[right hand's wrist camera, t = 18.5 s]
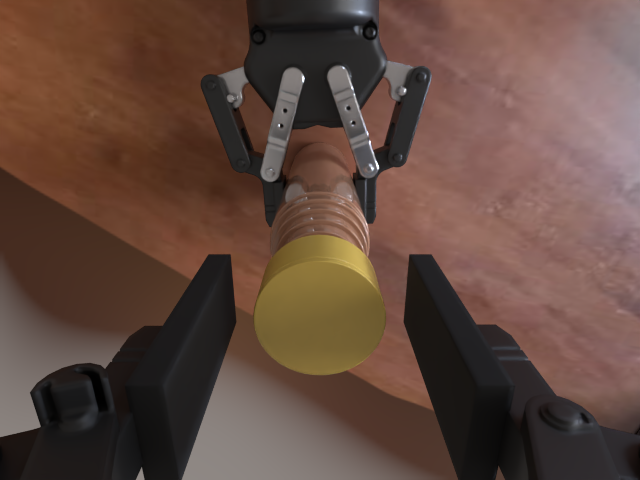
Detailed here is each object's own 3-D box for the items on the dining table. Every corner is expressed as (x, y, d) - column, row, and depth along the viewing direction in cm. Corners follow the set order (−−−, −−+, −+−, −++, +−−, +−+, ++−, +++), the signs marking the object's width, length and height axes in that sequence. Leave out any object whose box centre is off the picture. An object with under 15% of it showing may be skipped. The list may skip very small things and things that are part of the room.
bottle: (358, 180, 34) (416, 332, 13) (310, 208, 35) (297, 390, 14) (329, 131, 33) (346, 216, 12) (280, 161, 33) (218, 289, 13)
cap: (254, 324, 15) (243, 362, 13) (274, 222, 14) (265, 248, 12) (360, 344, 16) (366, 385, 14) (390, 247, 14) (402, 276, 12)
